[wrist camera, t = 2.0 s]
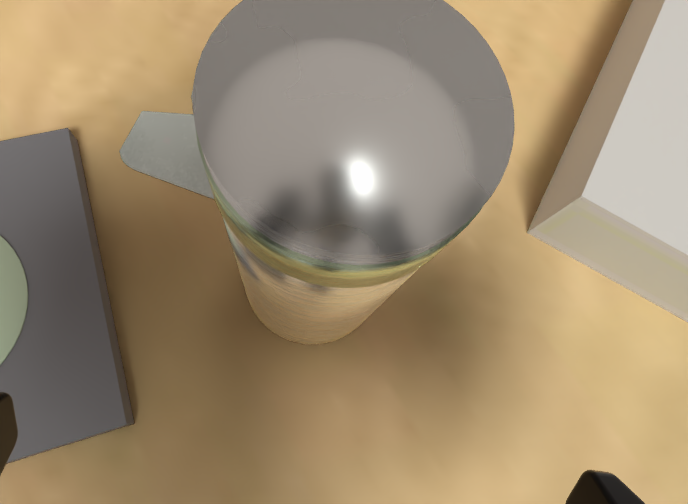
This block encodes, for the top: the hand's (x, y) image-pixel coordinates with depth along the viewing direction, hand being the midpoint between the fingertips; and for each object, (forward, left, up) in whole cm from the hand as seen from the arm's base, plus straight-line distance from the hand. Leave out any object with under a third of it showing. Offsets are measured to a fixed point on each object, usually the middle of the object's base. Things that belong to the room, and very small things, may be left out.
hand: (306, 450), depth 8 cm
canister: (+3, -5, -12) cm, 13 cm away
